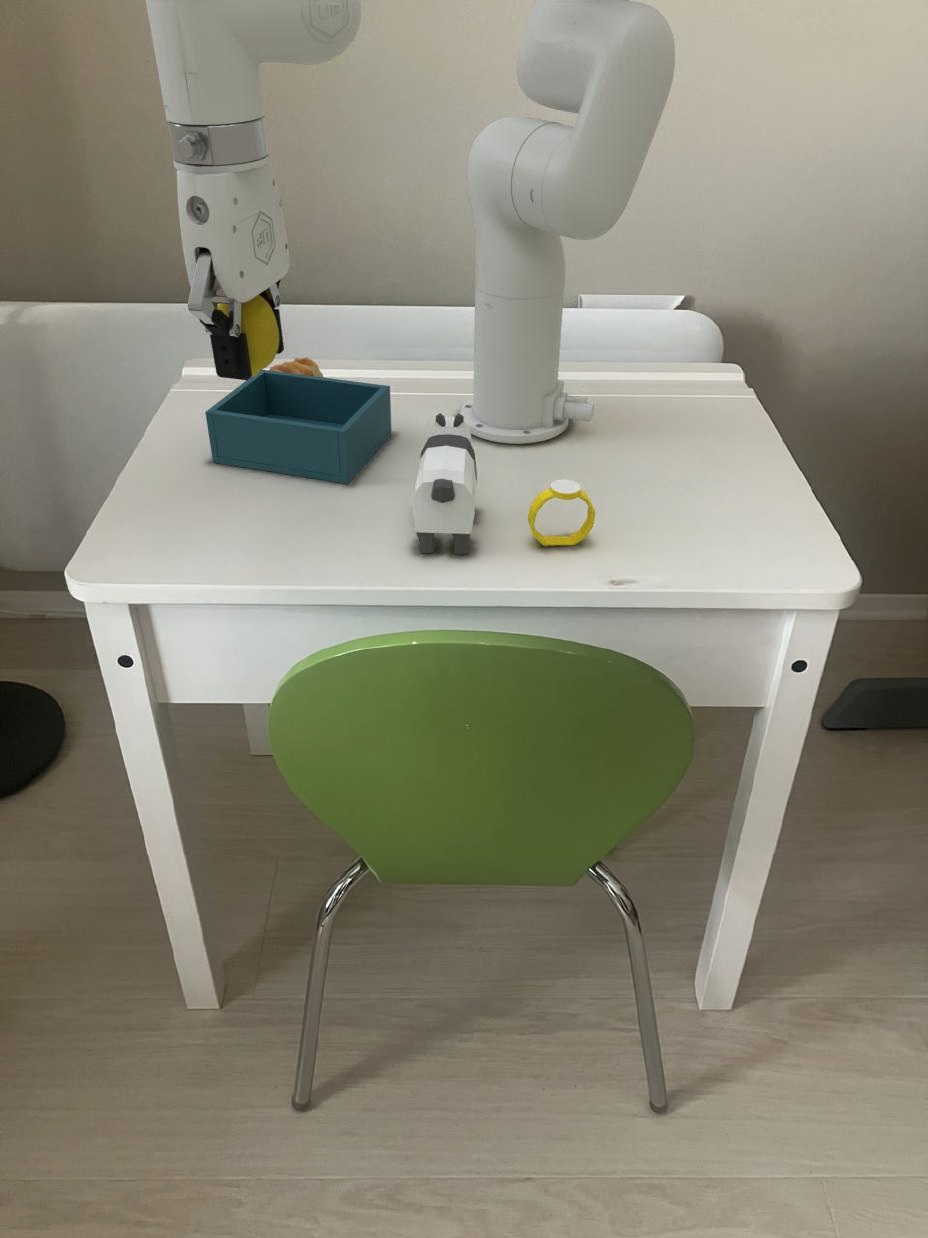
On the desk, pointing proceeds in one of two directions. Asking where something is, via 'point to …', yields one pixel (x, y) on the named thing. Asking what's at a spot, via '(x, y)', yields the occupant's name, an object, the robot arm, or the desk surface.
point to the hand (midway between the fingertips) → (251, 362)
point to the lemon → (258, 331)
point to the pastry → (299, 367)
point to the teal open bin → (300, 425)
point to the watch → (565, 492)
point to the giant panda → (446, 485)
